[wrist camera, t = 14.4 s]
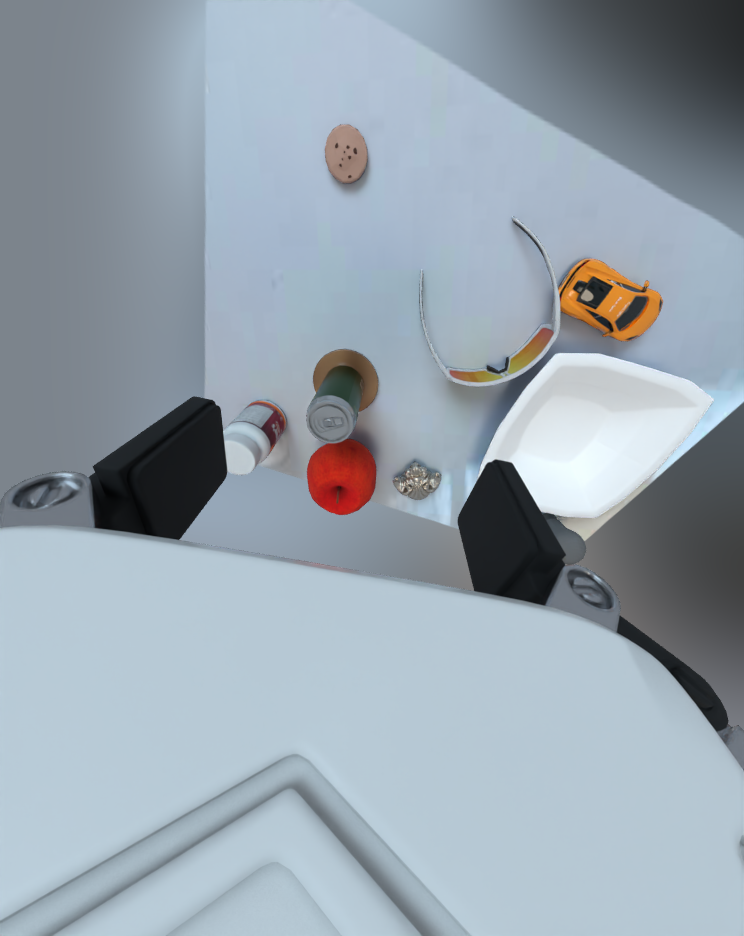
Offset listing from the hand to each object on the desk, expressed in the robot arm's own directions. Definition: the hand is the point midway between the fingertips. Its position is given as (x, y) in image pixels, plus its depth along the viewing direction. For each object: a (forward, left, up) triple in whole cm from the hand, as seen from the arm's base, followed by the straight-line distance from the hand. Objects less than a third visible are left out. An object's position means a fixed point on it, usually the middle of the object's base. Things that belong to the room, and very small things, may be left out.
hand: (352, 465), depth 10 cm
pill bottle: (-14, -17, -32) cm, 38 cm away
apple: (-1, -20, -32) cm, 37 cm away
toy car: (+24, +7, -32) cm, 40 cm away
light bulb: (+36, -25, -32) cm, 54 cm away
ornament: (+11, -22, -32) cm, 40 cm away
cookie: (-6, +13, -31) cm, 34 cm away
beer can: (-3, -9, -31) cm, 32 cm away
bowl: (+29, -9, -32) cm, 44 cm away
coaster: (-3, -9, -31) cm, 33 cm away
